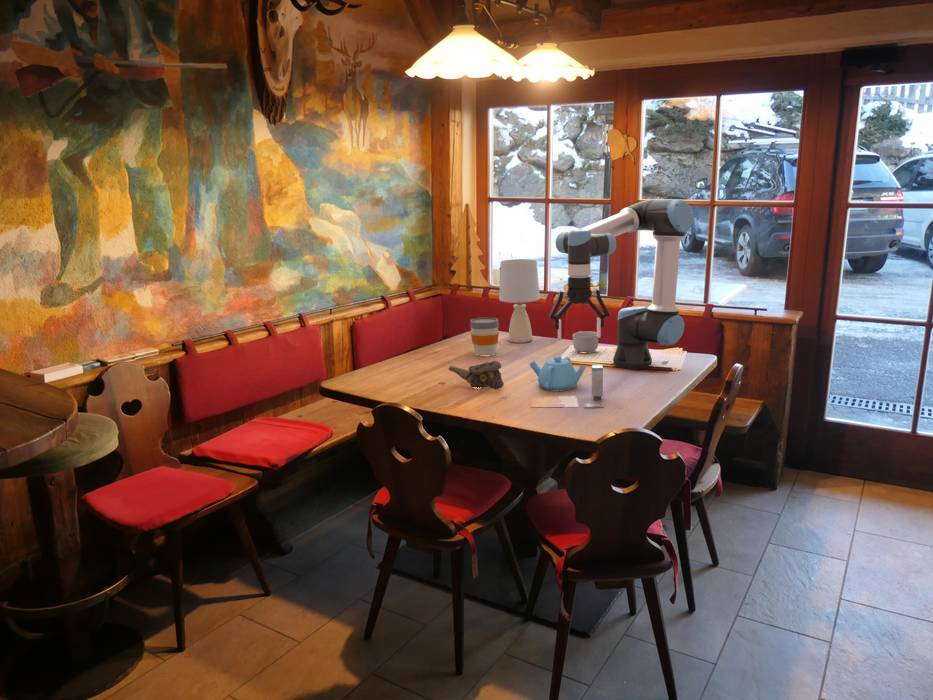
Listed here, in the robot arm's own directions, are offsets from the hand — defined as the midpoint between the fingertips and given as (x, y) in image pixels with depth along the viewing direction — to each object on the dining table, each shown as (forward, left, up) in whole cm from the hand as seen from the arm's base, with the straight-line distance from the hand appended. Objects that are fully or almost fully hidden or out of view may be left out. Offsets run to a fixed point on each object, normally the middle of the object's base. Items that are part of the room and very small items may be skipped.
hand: (579, 337), depth 262 cm
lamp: (+21, -89, -21) cm, 93 cm away
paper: (+9, +8, -20) cm, 24 cm away
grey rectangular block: (-6, +5, -21) cm, 22 cm away
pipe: (+37, -12, -21) cm, 44 cm away
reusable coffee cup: (+36, -64, -21) cm, 76 cm away
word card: (-4, +13, -20) cm, 25 cm away
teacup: (-7, -66, -21) cm, 69 cm away
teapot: (+7, -12, -21) cm, 25 cm away
